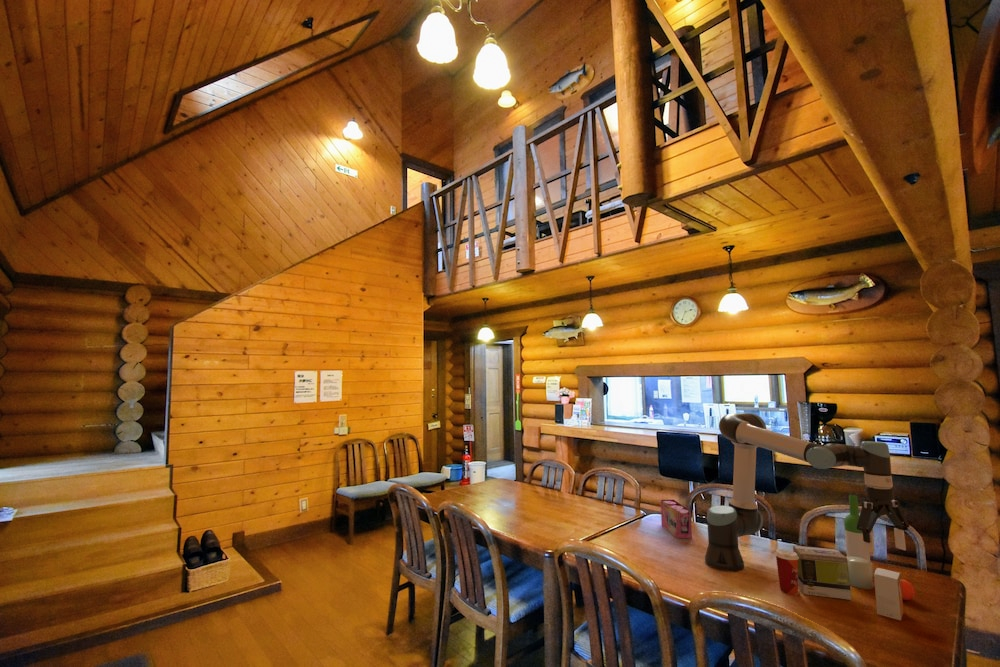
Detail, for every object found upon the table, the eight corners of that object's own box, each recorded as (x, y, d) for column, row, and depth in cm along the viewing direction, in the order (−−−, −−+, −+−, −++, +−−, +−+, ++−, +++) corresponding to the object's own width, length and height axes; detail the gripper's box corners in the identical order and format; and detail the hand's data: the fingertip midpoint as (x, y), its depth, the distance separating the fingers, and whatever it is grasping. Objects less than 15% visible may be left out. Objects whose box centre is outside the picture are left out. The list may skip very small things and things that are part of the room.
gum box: (693, 539, 224) (692, 511, 226) (678, 539, 224) (677, 511, 226) (675, 524, 248) (674, 499, 249) (660, 524, 248) (660, 499, 249)
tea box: (841, 589, 170) (837, 548, 171) (852, 601, 160) (848, 558, 162) (795, 583, 174) (792, 544, 176) (803, 594, 165) (800, 553, 167)
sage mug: (861, 590, 169) (859, 565, 170) (841, 581, 177) (839, 557, 178) (883, 587, 171) (881, 562, 172) (862, 578, 179) (860, 555, 180)
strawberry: (907, 605, 157) (905, 584, 158) (884, 597, 163) (882, 576, 164) (920, 601, 160) (918, 580, 161) (896, 593, 166) (894, 573, 167)
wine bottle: (846, 563, 194) (840, 492, 197) (869, 567, 190) (862, 494, 193) (849, 570, 187) (843, 496, 191) (873, 574, 183) (866, 498, 187)
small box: (901, 621, 147) (897, 579, 148) (876, 614, 151) (873, 573, 153) (904, 612, 152) (900, 572, 154) (879, 606, 157) (876, 567, 158)
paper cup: (801, 598, 162) (799, 557, 164) (777, 593, 166) (774, 553, 168) (801, 590, 169) (798, 551, 170) (777, 585, 173) (774, 547, 174)
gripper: (861, 491, 150) (868, 557, 147) (918, 487, 156) (925, 551, 153) (840, 486, 157) (845, 549, 155) (895, 483, 163) (901, 544, 160)
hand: (885, 550), depth 154 cm, fingers open, 13 cm apart
